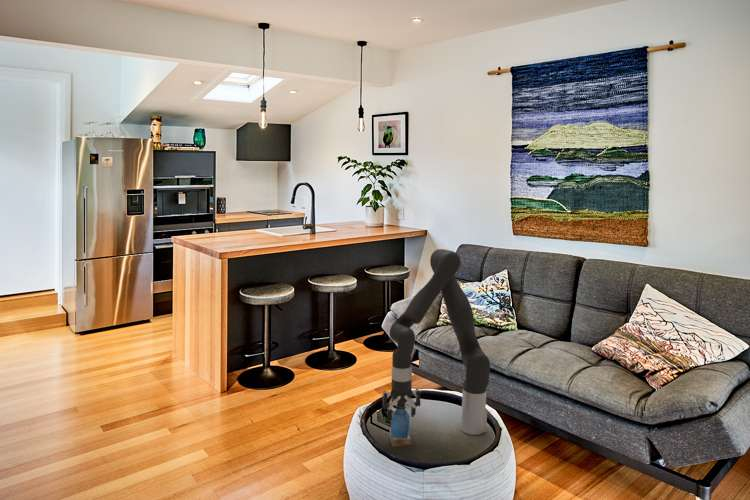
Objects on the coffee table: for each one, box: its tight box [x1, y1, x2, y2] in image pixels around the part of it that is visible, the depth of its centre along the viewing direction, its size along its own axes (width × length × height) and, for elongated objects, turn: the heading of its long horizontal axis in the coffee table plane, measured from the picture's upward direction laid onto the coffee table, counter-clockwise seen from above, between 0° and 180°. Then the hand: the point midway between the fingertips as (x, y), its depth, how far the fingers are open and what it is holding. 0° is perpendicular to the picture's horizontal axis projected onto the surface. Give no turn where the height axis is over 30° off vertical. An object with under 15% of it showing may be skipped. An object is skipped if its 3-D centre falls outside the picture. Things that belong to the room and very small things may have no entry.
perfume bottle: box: [390, 403, 410, 439], centre depth 207 cm, size 6×6×12 cm
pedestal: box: [388, 429, 412, 447], centre depth 208 cm, size 7×7×3 cm
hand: (401, 416), depth 206 cm, fingers open, 8 cm apart
